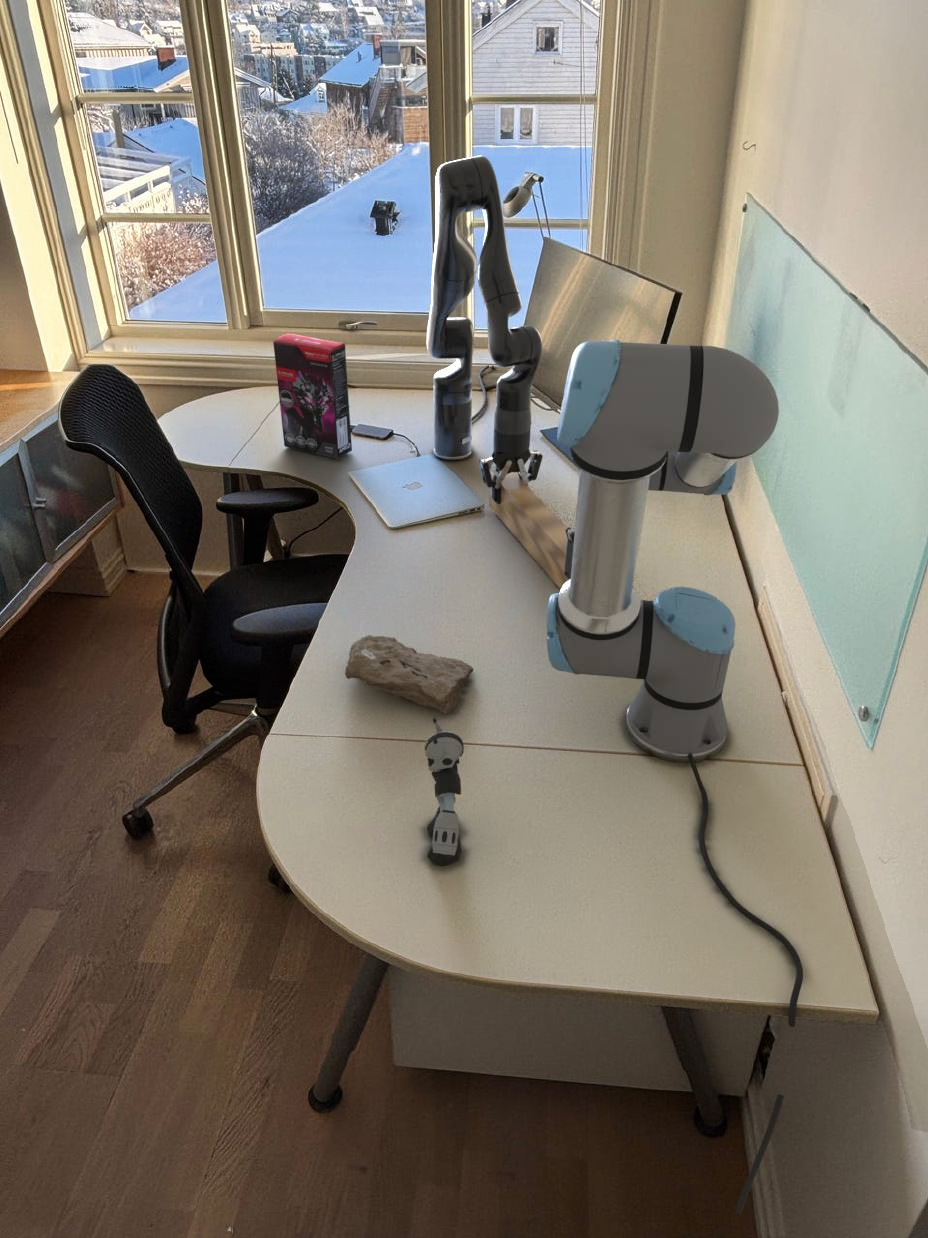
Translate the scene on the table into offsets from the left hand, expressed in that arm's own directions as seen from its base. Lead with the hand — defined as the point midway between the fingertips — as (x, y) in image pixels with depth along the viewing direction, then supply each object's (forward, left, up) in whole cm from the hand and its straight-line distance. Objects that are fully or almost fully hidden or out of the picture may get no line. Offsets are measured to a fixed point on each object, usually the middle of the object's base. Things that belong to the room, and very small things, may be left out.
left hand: (509, 500), depth 198 cm
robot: (+93, +13, -5) cm, 94 cm away
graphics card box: (-23, -54, -5) cm, 59 cm away
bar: (+16, +12, -4) cm, 20 cm away
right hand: (+33, +24, -3) cm, 40 cm away
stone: (+62, -3, -5) cm, 62 cm away
